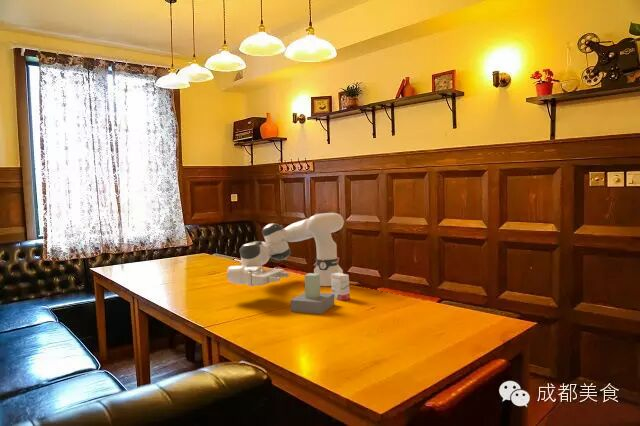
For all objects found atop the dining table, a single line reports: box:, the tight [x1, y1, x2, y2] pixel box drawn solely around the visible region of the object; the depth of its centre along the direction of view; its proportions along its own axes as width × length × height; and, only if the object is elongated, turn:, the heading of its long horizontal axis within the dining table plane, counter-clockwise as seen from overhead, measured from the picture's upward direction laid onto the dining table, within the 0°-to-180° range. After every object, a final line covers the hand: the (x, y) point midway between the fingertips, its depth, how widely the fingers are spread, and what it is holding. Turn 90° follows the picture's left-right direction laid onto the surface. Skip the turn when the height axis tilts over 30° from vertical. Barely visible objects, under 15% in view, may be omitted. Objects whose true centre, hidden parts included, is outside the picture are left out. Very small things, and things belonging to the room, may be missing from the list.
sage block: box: [304, 272, 321, 299], centre depth 197 cm, size 5×5×10 cm
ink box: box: [331, 272, 351, 301], centre depth 212 cm, size 9×5×12 cm, turn 33°
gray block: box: [290, 291, 335, 315], centre depth 197 cm, size 16×14×5 cm
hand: (283, 277), depth 202 cm, fingers open, 8 cm apart
